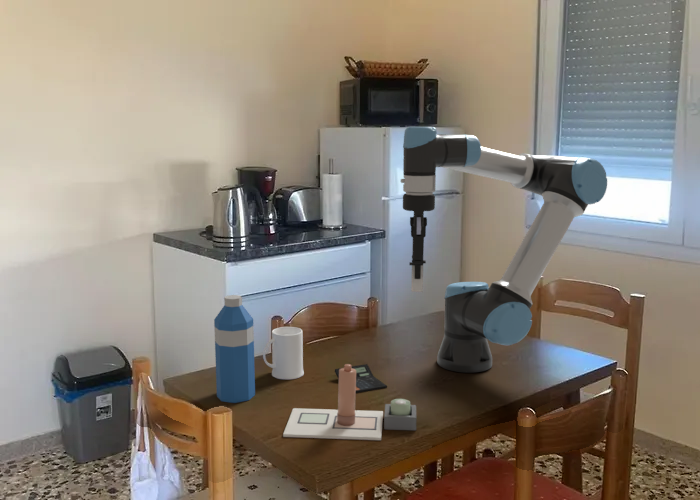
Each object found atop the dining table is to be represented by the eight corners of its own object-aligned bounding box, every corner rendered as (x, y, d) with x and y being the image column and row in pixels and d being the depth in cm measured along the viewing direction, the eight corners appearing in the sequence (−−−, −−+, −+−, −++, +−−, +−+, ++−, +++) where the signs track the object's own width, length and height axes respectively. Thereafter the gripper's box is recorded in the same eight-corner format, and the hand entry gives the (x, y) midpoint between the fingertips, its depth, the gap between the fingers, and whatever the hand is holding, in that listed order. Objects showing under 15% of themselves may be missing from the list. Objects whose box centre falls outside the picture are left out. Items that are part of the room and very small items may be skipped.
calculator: (353, 394, 178) (353, 383, 177) (334, 379, 188) (334, 368, 188) (386, 388, 182) (387, 377, 181) (366, 374, 192) (366, 363, 192)
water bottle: (218, 389, 181) (215, 292, 176) (255, 388, 181) (253, 292, 177) (214, 403, 171) (211, 302, 167) (254, 402, 172) (251, 301, 168)
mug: (270, 384, 184) (269, 339, 181) (255, 374, 191) (254, 331, 188) (309, 375, 190) (309, 332, 188) (294, 366, 197) (293, 324, 195)
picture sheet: (383, 413, 166) (383, 410, 166) (381, 440, 152) (381, 437, 152) (293, 410, 167) (293, 407, 167) (283, 436, 154) (283, 433, 153)
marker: (355, 418, 161) (356, 362, 159) (355, 426, 157) (356, 368, 155) (337, 418, 161) (338, 362, 159) (336, 425, 157) (338, 368, 155)
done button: (410, 415, 162) (410, 398, 162) (410, 423, 158) (410, 406, 157) (390, 415, 163) (390, 397, 162) (390, 423, 158) (390, 405, 158)
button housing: (415, 417, 164) (416, 404, 163) (416, 430, 157) (416, 417, 156) (385, 416, 164) (385, 403, 164) (384, 429, 157) (384, 416, 157)
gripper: (403, 190, 175) (401, 284, 179) (402, 196, 162) (401, 297, 166) (434, 190, 174) (431, 285, 178) (436, 196, 161) (433, 298, 165)
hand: (417, 291), depth 172 cm, fingers closed
